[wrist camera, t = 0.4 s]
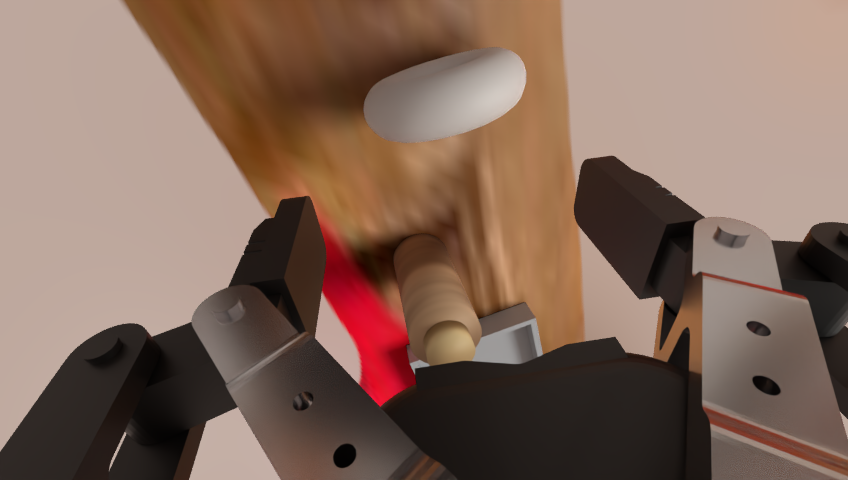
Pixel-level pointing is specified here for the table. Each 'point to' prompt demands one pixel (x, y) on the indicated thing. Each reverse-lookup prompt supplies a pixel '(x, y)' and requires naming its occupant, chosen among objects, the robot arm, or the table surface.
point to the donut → (445, 95)
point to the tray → (502, 338)
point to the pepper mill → (435, 302)
